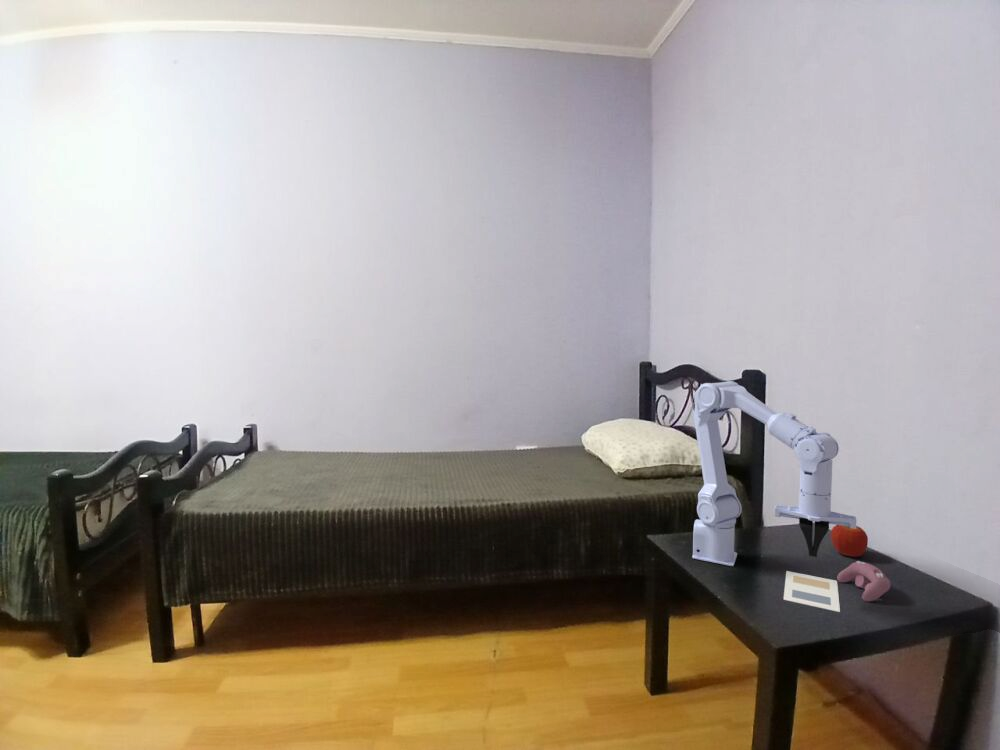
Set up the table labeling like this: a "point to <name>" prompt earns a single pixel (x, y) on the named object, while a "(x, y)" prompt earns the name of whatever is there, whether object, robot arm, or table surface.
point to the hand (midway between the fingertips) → (812, 554)
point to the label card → (811, 591)
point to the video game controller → (866, 579)
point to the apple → (849, 540)
